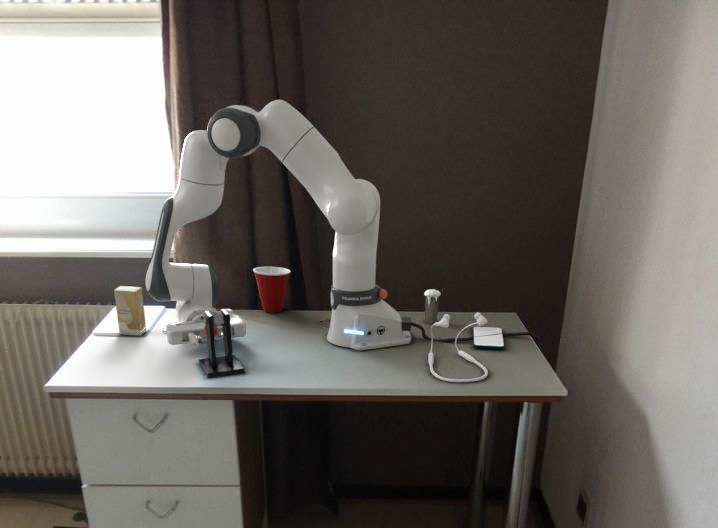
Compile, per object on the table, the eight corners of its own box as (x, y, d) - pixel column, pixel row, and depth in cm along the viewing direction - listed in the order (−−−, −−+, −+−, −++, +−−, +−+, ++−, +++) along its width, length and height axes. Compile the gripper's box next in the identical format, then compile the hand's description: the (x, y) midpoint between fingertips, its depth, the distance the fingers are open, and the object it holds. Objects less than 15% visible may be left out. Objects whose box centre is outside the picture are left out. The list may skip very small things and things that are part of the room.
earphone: (467, 335, 193) (490, 306, 175) (476, 397, 191) (500, 374, 173) (416, 338, 191) (434, 309, 173) (424, 401, 189) (443, 378, 171)
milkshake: (440, 325, 212) (443, 289, 207) (421, 323, 213) (423, 288, 208) (442, 320, 216) (444, 285, 211) (423, 319, 217) (425, 284, 212)
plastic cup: (299, 309, 225) (298, 268, 219) (273, 317, 218) (271, 275, 212) (273, 302, 231) (271, 262, 225) (247, 310, 224) (245, 269, 218)
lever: (204, 339, 188) (201, 325, 188) (218, 337, 189) (215, 323, 189) (212, 327, 175) (209, 311, 175) (227, 325, 177) (224, 310, 176)
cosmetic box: (119, 334, 204) (112, 289, 198) (125, 329, 208) (119, 285, 202) (141, 336, 204) (135, 291, 197) (147, 331, 207) (141, 286, 201)
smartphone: (472, 329, 209) (473, 348, 195) (472, 326, 209) (473, 345, 195) (501, 331, 208) (504, 350, 195) (502, 327, 208) (504, 346, 194)
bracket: (198, 363, 186) (193, 308, 179) (234, 359, 189) (230, 304, 182) (207, 378, 178) (202, 321, 171) (244, 373, 181) (240, 316, 174)
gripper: (159, 316, 194) (169, 332, 183) (237, 308, 200) (251, 323, 189) (162, 340, 197) (172, 357, 186) (238, 331, 203) (252, 347, 192)
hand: (212, 339), depth 187 cm, fingers open, 5 cm apart
